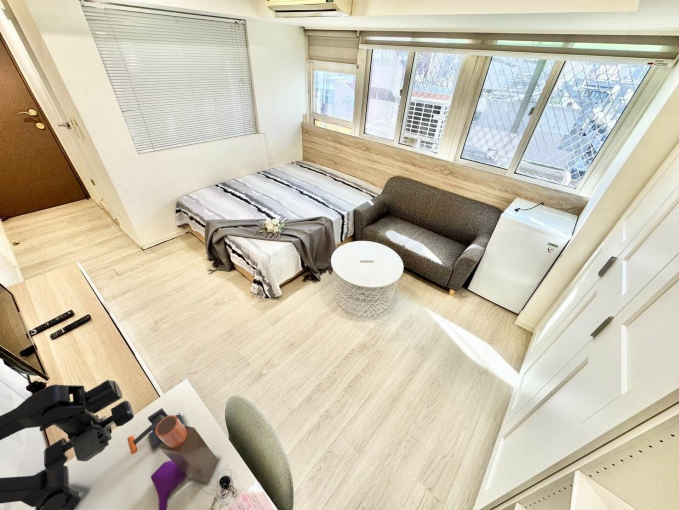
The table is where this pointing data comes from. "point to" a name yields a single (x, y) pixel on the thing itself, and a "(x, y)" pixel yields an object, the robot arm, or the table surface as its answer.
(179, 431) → the tea cup
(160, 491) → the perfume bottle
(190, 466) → the cup stand
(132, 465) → the table surface
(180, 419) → the switch base
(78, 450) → the robot arm
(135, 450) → the switch lever
